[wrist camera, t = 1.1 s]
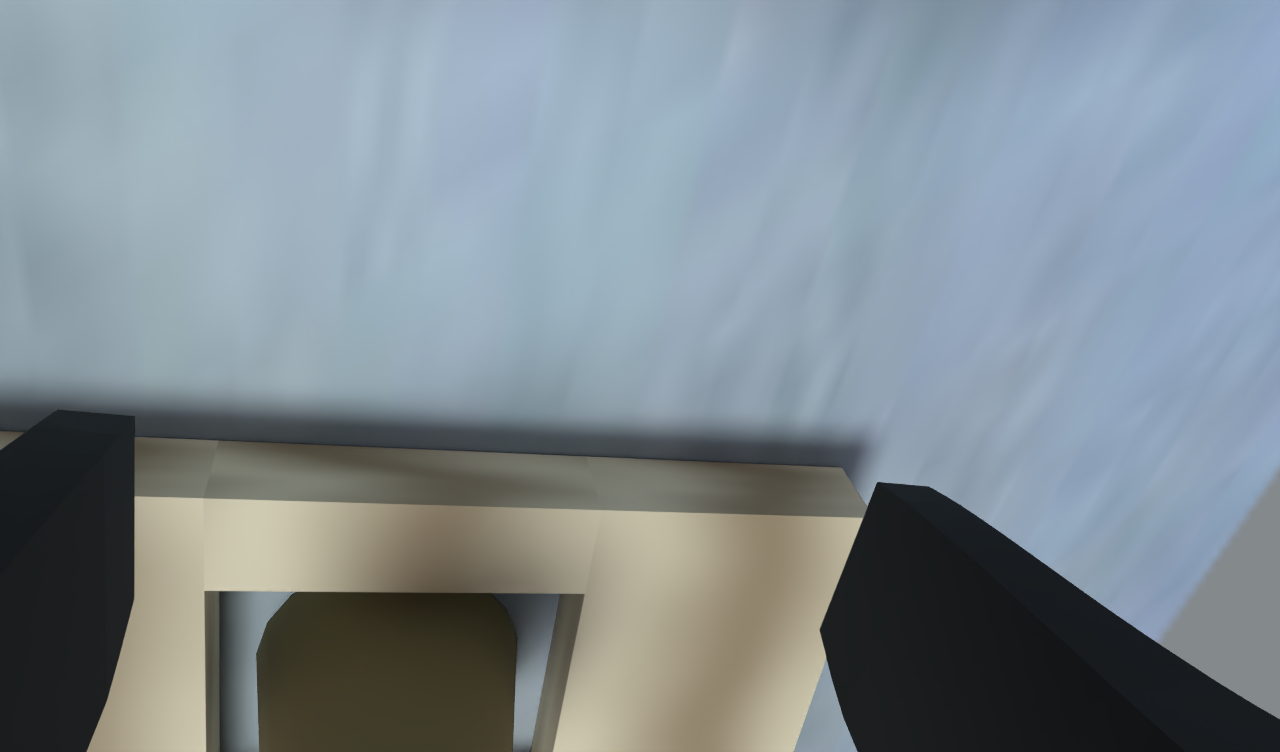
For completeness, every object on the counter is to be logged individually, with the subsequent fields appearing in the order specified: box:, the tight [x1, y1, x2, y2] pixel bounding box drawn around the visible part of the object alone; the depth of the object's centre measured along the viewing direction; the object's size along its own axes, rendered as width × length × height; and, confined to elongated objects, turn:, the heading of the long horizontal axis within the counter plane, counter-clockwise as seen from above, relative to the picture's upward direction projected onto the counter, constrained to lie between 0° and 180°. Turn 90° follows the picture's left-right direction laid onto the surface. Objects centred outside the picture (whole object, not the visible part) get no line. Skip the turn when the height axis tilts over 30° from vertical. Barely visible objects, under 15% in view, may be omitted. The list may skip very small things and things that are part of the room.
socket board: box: [0, 431, 867, 752], centre depth 24 cm, size 20×12×2 cm, turn 79°
